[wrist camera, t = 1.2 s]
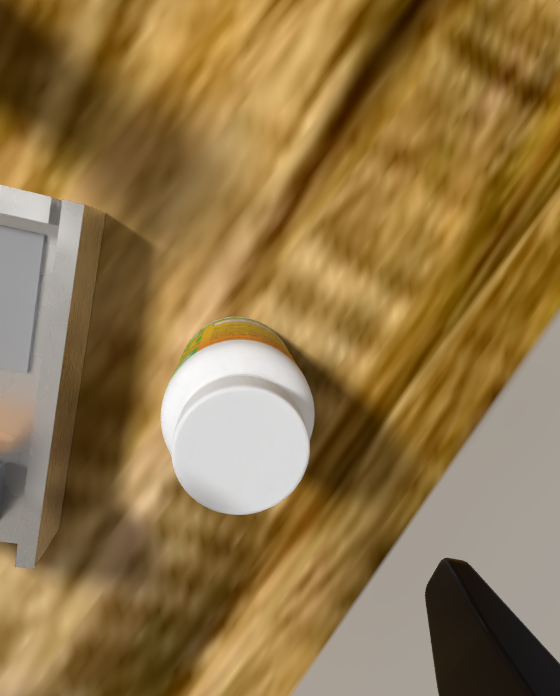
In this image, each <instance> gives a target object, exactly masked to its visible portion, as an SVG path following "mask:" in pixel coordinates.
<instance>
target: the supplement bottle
mask: <svg viewBox="0 0 560 696" xmlns="http://www.w3.org/2000/svg"><path fill="white" fill-rule="evenodd" d="M314 418H315V412H314V402H313V397H312V394H311V391H310V388H309V385H308V383H307V381H306V379H305V377H304V375H303V373H302V371H301V370H300V368H299V366H298V365H297V363H296V362H295V360H294V359H293V357H292V356H291V354H290V353H289V351H288V349H287V348H286V346H285V344H284V343H283V341H282V340H281V339H280V337H279V336H278V335H277V334H276V333H275V332H274V331H273V330H272V329H270V328H269V327H268V326H266V325H264V324H263V323H261V322H258V321H256V320H253V319H249V318H245V317H228V318H223V319H220V320H216V321H214V322H212V323H210V324H208V325H206V326H205V327H203V328H202V329H201V330H200V331H198V332H197V333H196V334H195V335H194V337H193V338H192V339H191V340H190V342H189V343H188V345H187V347H186V349H185V351H184V353H183V355H182V357H181V359H180V362H179V364H178V366H177V368H176V370H175V372H174V374H173V376H172V378H171V380H170V382H169V384H168V387H167V389H166V392H165V395H164V399H163V402H162V408H161V427H162V433H163V437H164V440H165V443H166V446H167V448H168V450H169V452H170V453H171V455H172V463H173V467H174V470H175V473H176V476H177V478H178V480H179V482H180V483H181V485H182V487H183V488H184V489H185V491H186V492H187V493H188V494H189V495H190V496H191V497H192V498H193V499H195V500H196V501H197V502H199V503H200V504H202V505H203V506H205V507H207V508H209V509H212V510H214V511H217V512H221V513H226V514H233V515H243V514H251V513H256V512H260V511H263V510H266V509H268V508H270V507H273V506H275V505H276V504H278V503H279V502H281V501H282V500H284V499H285V498H286V497H287V496H288V495H289V494H290V493H291V492H292V491H293V490H294V489H295V488H296V487H297V485H298V484H299V482H300V481H301V479H302V477H303V475H304V473H305V471H306V468H307V465H308V461H309V455H310V438H311V435H312V431H313V427H314Z"/></svg>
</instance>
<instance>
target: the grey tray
mask: <svg viewBox="0 0 560 696" xmlns="http://www.w3.org/2000/svg"><path fill="white" fill-rule="evenodd" d="M105 215H106V212H103V211H100V210H97V209H95V208H92V207H89V206H87V205H84V204H79V203H75V202H71V201H66V200H59V199H56V198H53V197H49V196H45V195H41V194H37V193H32V192H28V191H24V190H19V189H15V188H11V187H7V186H2V185H0V542H8V543H16V544H18V546H17V554H16V561H15V567H22V568H31V569H34V568H35V566H36V564H37V563H38V561H39V560H40V558H41V557H42V555H43V553H44V552H45V550H46V549H47V547H48V545H49V544H50V542H51V541H52V539H53V537H54V536H55V534H56V533H57V531H58V530H59V526H60V520H61V513H62V506H63V499H64V493H65V486H66V479H67V472H68V465H69V459H70V452H71V445H72V438H73V432H74V425H75V418H76V411H77V405H78V398H79V391H80V384H81V377H82V371H83V364H84V357H85V350H86V344H87V337H88V330H89V323H90V316H91V310H92V303H93V296H94V289H95V283H96V276H97V269H98V262H99V255H100V249H101V242H102V235H103V228H104V222H105Z"/></svg>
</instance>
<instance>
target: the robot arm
mask: <svg viewBox="0 0 560 696" xmlns="http://www.w3.org/2000/svg"><path fill="white" fill-rule="evenodd" d="M425 599H426V607H427V614H428V622H429V629H430V636H431V644H432V652H433V659H434V667H435V674H436V680H437V687H438V692H439V696H560V664H559V662H558V661H557V660H556V659H555V658H554V657H553V656H552V655H551V654H550V652H549V651H548V650H547V649H546V648H545V647H544V646H543V645H542V644H541V643H540V641H539V640H538V639H537V638H536V637H535V636H534V635H533V634H532V633H531V632H530V631H529V629H528V628H527V627H526V626H525V625H524V624H523V623H522V622H521V621H520V620H519V618H518V617H517V616H516V615H515V614H514V613H513V612H512V611H511V610H510V608H509V607H508V606H507V605H506V604H505V603H504V602H503V601H502V600H501V599H500V597H499V596H498V595H497V594H496V593H495V592H494V591H493V590H492V589H491V588H490V586H489V585H488V584H487V583H486V582H485V581H484V580H483V579H482V578H481V577H480V575H479V574H478V573H477V572H476V571H475V570H474V569H473V568H472V567H471V566H470V565H469V564H468V563H467V562H465V561H462V560H457V559H451V558H444V559H443V560H441V562H440V563H439V565H438V567H437V568H436V570H435V572H434V573H433V575H432V577H431V579H430V581H429V582H428V584H427V587H426V592H425Z"/></svg>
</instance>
